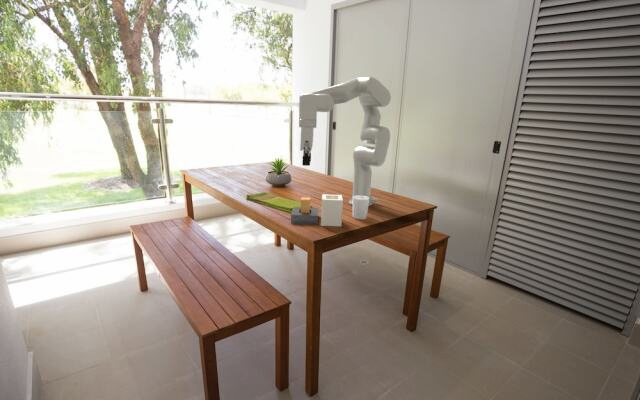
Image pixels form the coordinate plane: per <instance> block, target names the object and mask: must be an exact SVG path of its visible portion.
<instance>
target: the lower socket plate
mask: <svg viewBox="0 0 640 400" xmlns="http://www.w3.org/2000/svg"><path fill="white" fill-rule="evenodd" d="M312 207H313V206H312ZM312 207H310V213H301V207H293V210H292V213H290V224H301V225H302V224H303V225H318V223H319V207H313V208H312Z"/></svg>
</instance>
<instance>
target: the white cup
mask: <svg viewBox="0 0 640 400" xmlns="http://www.w3.org/2000/svg"><path fill="white" fill-rule="evenodd" d="M368 205H369V197H367V196H362V195H356V196H353V203H352V205H351V206H352V209H351V211H352V218H353V219H356V220H366V219H367V216H368V211H369V206H368Z"/></svg>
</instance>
